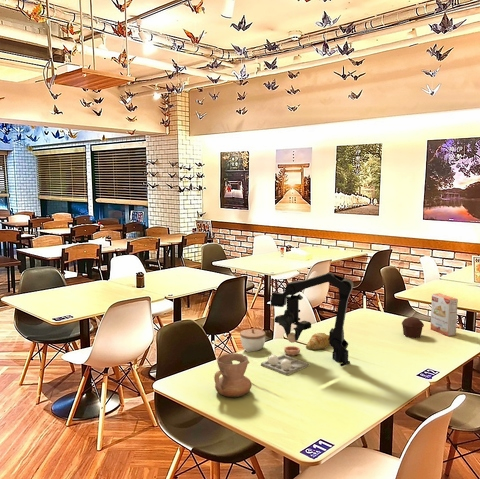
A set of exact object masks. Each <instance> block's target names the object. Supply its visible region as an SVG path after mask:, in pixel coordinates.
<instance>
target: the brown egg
mask: <svg viewBox="0 0 480 479" xmlns="http://www.w3.org/2000/svg"><path fill="white" fill-rule="evenodd" d="M286 338H287V341H288V342H289V343H292V344H293V343H296V342H297V341H295V332H290V333H289V334H288V336H286Z"/></svg>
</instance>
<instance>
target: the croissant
mask: <svg viewBox="0 0 480 479" xmlns="http://www.w3.org/2000/svg"><path fill="white" fill-rule="evenodd" d="M328 339H329V335H328V334H326V333H325V332H317V333H314V334H313V335H312V336H311V337H310V338H309V341H308V342H307V344H305V349H306V350H321V349H325V348H327V347H328V346H330V344H329V340H328Z"/></svg>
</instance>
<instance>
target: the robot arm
mask: <svg viewBox="0 0 480 479" xmlns="http://www.w3.org/2000/svg"><path fill="white" fill-rule="evenodd" d="M325 283H329V284H331V285H332V286H334V288H337V289H338V298H339V300H338V305H337V311H336V317H335V323H334V328H333V327H331V328H330V331H329V339H328V340H329V346H330V347H332V350H333V351H332V360H333V361H334V362H336V363H340V364H339V366H341V367H344V366H345V365H348V364H350V363H351V361H350V360H349V350H348V346H349V342H348V341H346V339H345V332H344V330H345V329H344V324H345V320H346V319H345V318H346V314H347V309H348V303H349V299H350V296H351V294H352V290H353V288H354V282H353V280H351V278H349V277H348V278H346V277H345V278H344V277H343V276H340V275H338V274H335V273H333V272H330V271H329V272H328V271H327V273H323V274H321V275H317V276H314V277H310V278H307V279H303V280H292V281H291V282H288V283H287V284H286V285H285V290H284V291H283V292H277V291H276V292H275V291H273V292H272V293H271V298H270V305H271V307H278V308H283V307H284V306H286V309H285V310H284V312H283V314H279V315H277V316H275V318H274V323H276V324H278V326H281V327H283V330H284V333H285V336H286V337H287V336H288V334H289V333H292V332H291V330H292V325H294V326H295V327H293V330H294V333H295V341H296V342H297V341H299V338H300V336H301V334H302V332H303V331H306V330H309V329H311V328H312V323H311V322H310V321H307V320H302V321H301V318H300V316H299V315H300V314H299V313H301V309H300V307H299V306H300V304H299V301H301V300H303V298H304V297H303V296H302V295H301V294H300V292H302V291H303V290H306V289H309V288H312V287H313V288H314V287H315V286H318V285H323V284H325ZM296 294H297V295H296Z"/></svg>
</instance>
